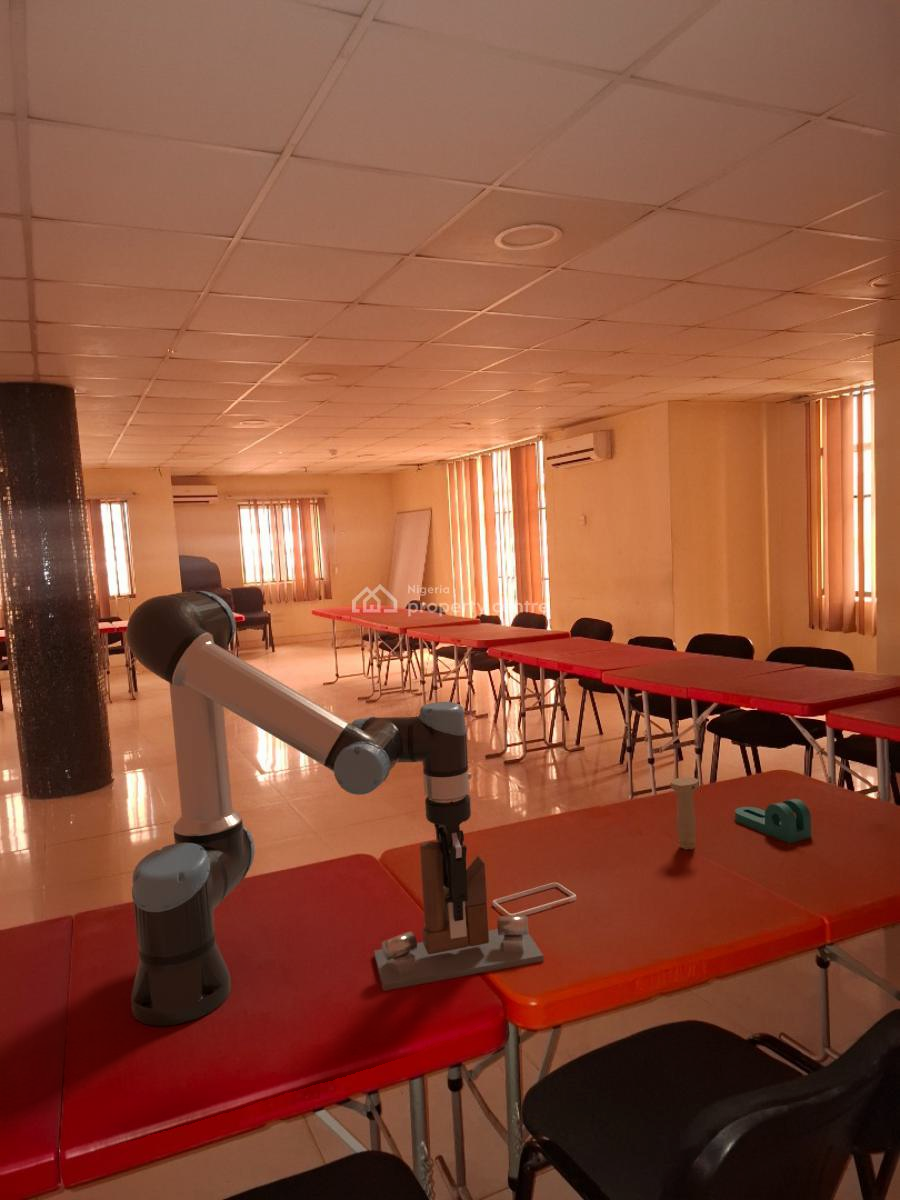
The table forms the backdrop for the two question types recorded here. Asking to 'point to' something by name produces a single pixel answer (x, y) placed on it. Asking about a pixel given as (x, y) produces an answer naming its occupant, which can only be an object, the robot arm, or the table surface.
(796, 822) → the bracket
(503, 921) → the grey knob
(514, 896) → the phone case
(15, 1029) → the table surface
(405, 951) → the grey block
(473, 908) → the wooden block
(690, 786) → the handle
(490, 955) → the plate
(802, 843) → the table surface
